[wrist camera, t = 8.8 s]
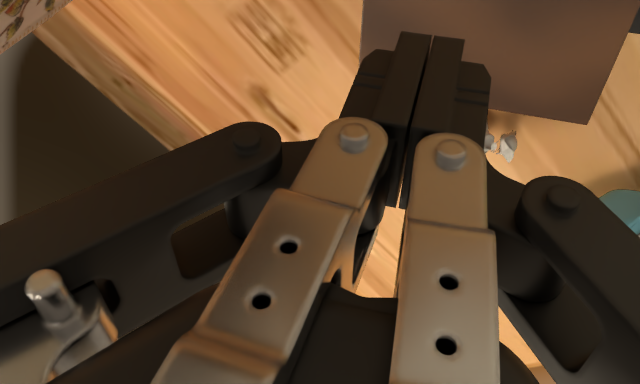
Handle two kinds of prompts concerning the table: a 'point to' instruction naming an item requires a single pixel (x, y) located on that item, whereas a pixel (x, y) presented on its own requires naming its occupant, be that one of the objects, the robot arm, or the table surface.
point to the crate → (518, 46)
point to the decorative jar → (24, 18)
